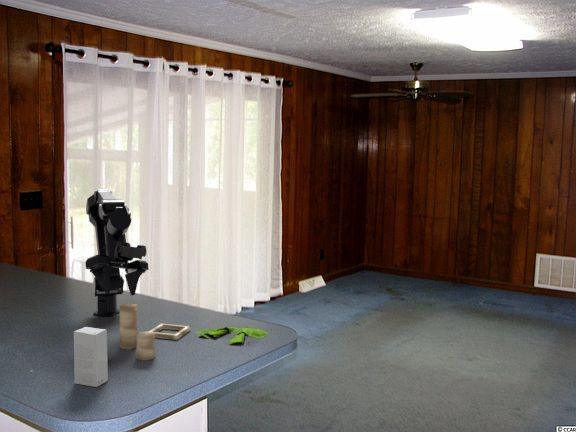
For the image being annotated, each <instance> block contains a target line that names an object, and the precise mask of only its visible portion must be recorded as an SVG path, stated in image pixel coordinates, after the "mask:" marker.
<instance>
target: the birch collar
mask: <svg viewBox="0 0 576 432" xmlns="http://www.w3.org/2000/svg"><path fill="white" fill-rule="evenodd" d="M162 330H172V331H177V332H176V333H167V332H161V331H162ZM190 331H191V326H189V325H179V324H171V323H170V324H169V323H160V324H159V325H157V326H155V327H154V328H152V329H150V330H149V331H148V332H153V333H155V339H156V338H157V339H164V340H165V339H166V340H176V341H178V340H179V339H180V338H181V337H183V336H185V334H187V333H188V332H190Z"/></svg>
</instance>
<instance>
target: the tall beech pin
mask: <svg viewBox="0 0 576 432" xmlns="http://www.w3.org/2000/svg"><path fill="white" fill-rule="evenodd" d="M119 309H120V312H119V348H120V349H121V350H132V349H135V348H136V349H137V334H138V304H136V303H123V304H121V305H119Z"/></svg>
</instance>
